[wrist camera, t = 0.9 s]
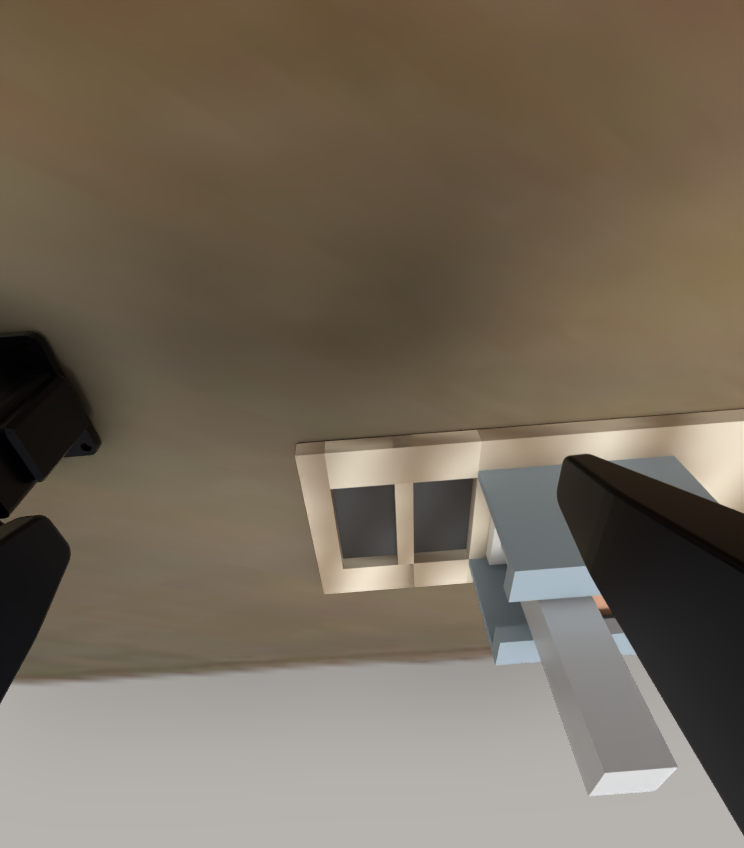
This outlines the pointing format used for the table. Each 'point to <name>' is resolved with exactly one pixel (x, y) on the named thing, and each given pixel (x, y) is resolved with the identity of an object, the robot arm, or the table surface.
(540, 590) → the light blue blocks
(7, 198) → the table surface
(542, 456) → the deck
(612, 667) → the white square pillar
